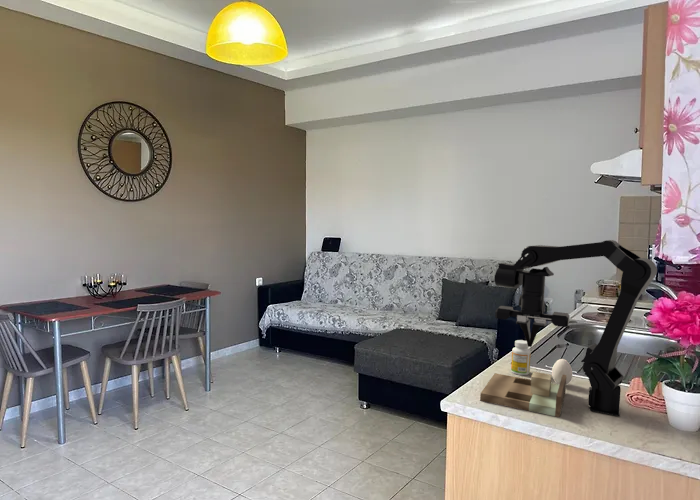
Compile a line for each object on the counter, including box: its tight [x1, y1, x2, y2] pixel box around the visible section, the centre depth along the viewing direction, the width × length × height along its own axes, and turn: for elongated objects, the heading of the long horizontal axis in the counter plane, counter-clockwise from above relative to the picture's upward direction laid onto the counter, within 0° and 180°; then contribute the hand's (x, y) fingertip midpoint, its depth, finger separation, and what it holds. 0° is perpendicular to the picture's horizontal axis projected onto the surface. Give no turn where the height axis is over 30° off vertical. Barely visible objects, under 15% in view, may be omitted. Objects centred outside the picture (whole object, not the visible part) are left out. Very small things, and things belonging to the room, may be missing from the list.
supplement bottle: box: [510, 339, 532, 376], centre depth 146 cm, size 5×5×10 cm
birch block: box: [530, 371, 553, 397], centre depth 124 cm, size 4×4×4 cm
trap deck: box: [479, 373, 567, 418], centre depth 126 cm, size 19×18×5 cm
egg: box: [551, 358, 573, 386], centre depth 136 cm, size 5×5×8 cm
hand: (530, 346), depth 132 cm, fingers closed
